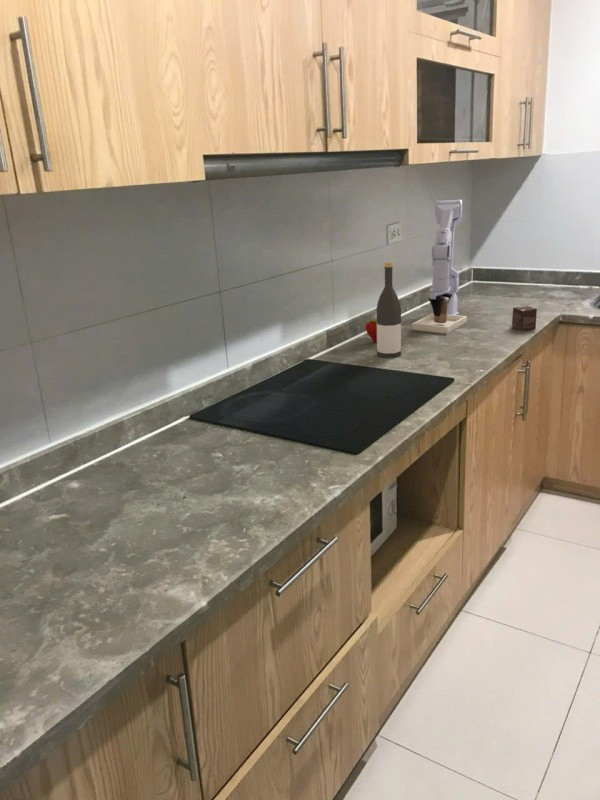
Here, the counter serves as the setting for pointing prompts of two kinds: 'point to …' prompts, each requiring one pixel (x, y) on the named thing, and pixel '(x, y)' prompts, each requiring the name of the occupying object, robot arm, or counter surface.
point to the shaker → (442, 312)
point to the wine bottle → (388, 319)
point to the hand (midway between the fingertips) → (440, 314)
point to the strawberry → (372, 329)
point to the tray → (439, 324)
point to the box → (524, 318)
